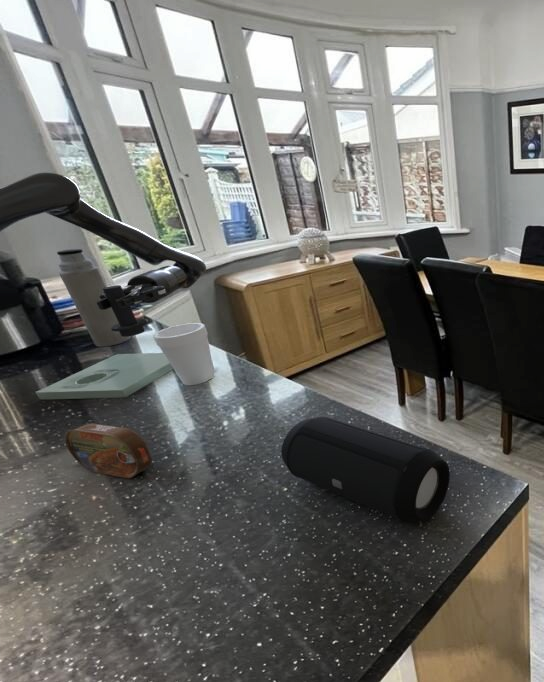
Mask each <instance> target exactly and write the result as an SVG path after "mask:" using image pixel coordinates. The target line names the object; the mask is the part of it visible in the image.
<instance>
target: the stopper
mask: <svg viewBox="0 0 544 682" xmlns="http://www.w3.org/2000/svg"><path fill="white" fill-rule="evenodd" d="M122 288H123V287H122V286H121V285H119V284H117V285H116V284H115V285H109V286H107V287H105V288H103V291H104V293H105V295H106V297H107V299H108V301H109V303H110V306H111V308H112V310H113V312H114V314H115V316H116V318H117V320H118V322H119V323H118V324H116V325H114V326H112V327H111V329H112V331H119V332H120V334H121V336H122V337H128V336H130V337H133V336H137V335H141V334H143V333H144V332H145V331H146V330H145V328H144V326H145V325H147V324H148V321H147V319H142V318H141V319H139V318H138V319H137V318H136V316H135V314H134V312H133V310H132V307H131V305H129V306H127V307H125V308H119V307H118V305H117V303H116V299H119V298H121V297H123V296H125V294H124V292H123V290H122Z"/></svg>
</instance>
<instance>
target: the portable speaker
mask: <svg viewBox="0 0 544 682" xmlns="http://www.w3.org/2000/svg"><path fill="white" fill-rule="evenodd" d="M280 451H281V459H282V461H283V463H284V465H285V466H286V468H287V469H288V471H289V472H290V474H292V475H293V476H294V477H296V478H298V479H302V480H304V481H306V482H309V483H311V484H313V485H316V486H319V487H321V488H323V489H326V490H328V491H330V492H333V493H335V494H337V495H339V496H342V497H345V498H347V499H349V500H351V501H353V502H357V503H359V504H361V505H362V506H363V505H364V506H366V507H368V508H371V509H373V510H375V511H377V512H380V513H381V514H385V515H386V516H390V517H392V518H394V519H396V520H399V521H400V522H402V523H418V522H420V523H421V522H425V521H428V520H430V519H431V518H432V517H434V516H435V514H436V513H437V512H438V511H439V509H440V507H441V506H442V504H443V502H444V500H445V498H446V496H447V493H448V490H449V489H448V488H449V485H450V480H451V478H450V477H451V473H450V472H451V471H450V467H449V465H448V463H447V462H446V460H445V459H443V458H442V457H441V456H440V455H439V454H438V453H436V452H435V451H434V450H432V449H430V448H427V447H424V446H421V445H418V444H413V443H411V442H408V441H405V440H401V439H398V438H395V437H392V436H389V435H386V434H383V433H380V432H376V431H373V430H371V429H367V428H363V427H361V426H359V425H358V426H357V425H354V424H351V423H348V422H345V421H342V420H339V419H336V418H332V417H326V416H317V417H311V418H306V419H303V420H301V421H298V423H296V424H295V425H294V426H293V427H292V428H290V429H289V431H288V433H287V434H286V436H285V437H284V439H283V441H282V445H281V450H280Z"/></svg>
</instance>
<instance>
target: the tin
mask: <svg viewBox="0 0 544 682" xmlns="http://www.w3.org/2000/svg"><path fill="white" fill-rule="evenodd" d="M65 444H66V447H67V450H68V451H69V453H70V455H71V456H72V458H74V460H75V461H76V462H77V463H78V464H79V465H81V467H83V468H84V469H86V470H88V471H90V472H92V473H95V474H100V475H107V476H113V477H117V478H122V479H132V478H134V477H136V476H137V475H138V474H140V473H142V472H144V471H145V470H147V469H148V468H149V467H150V466H151V465H152V461H153V459H152V456H151V453H150V450H149V448H148V446H147V443H146V441H145V440H144V439H143V438H142V436H140V435H139V434H138V433H137V432H136V431H134V430H132V429H130V428H128V427H123V426H122V427H121V426H114V425H107V424H99V423H87V424H83V425H81V426H79V427H77V428H74V429H71V430H69V431H67V433H66V434H65Z"/></svg>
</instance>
